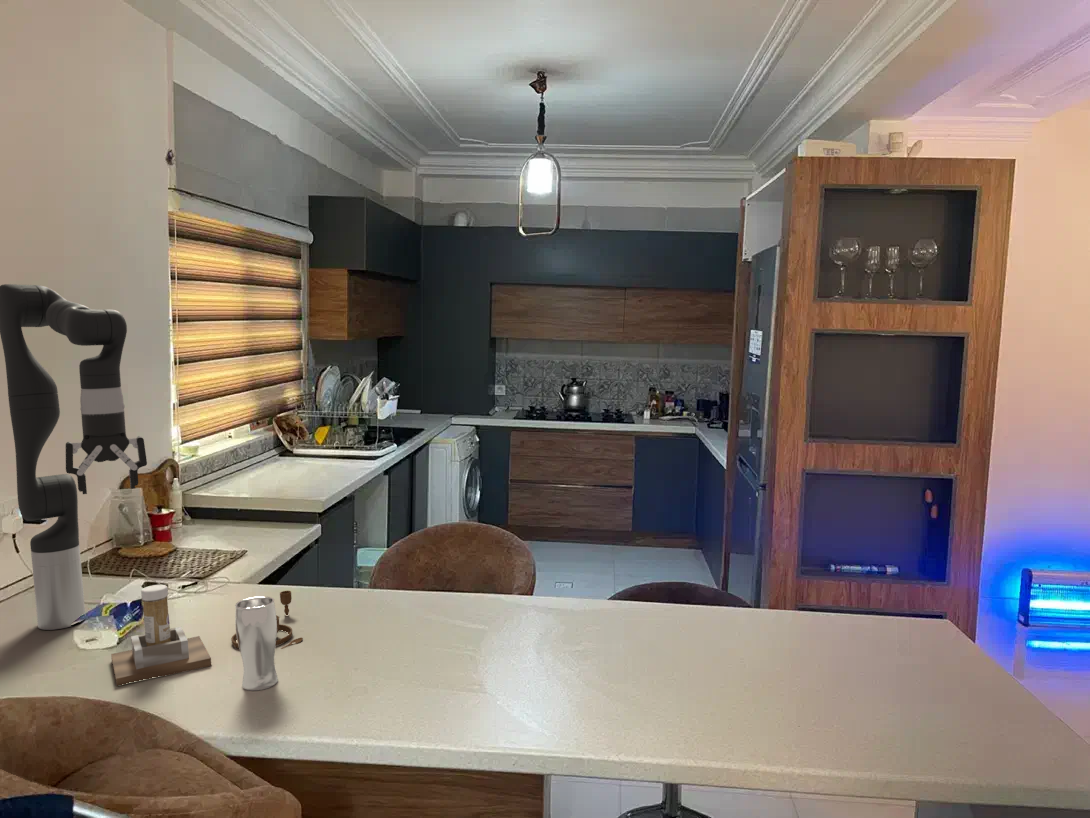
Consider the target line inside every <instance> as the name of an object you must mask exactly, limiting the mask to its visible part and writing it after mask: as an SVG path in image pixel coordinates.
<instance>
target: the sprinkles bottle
mask: <svg viewBox="0 0 1090 818" xmlns="http://www.w3.org/2000/svg"><path fill="white" fill-rule="evenodd" d="M168 590H169V589H168V586H167V585H166V584H153V585H149V586H145V587H144V588H142V589H141V591H140V592H141V594H140V595H141V600H142V606H143V622H144V623H143V624H144V634H145V638H146V644H147V646H152V645H157V644H162V643H167V642H171V640H170V629H171V626H170V624H171V623H170V613H169V606H168V605H169V603H168V595H169V592H168Z"/></svg>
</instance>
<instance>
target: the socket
mask: <svg viewBox="0 0 1090 818" xmlns="http://www.w3.org/2000/svg"><path fill="white" fill-rule="evenodd" d="M130 638H131V639H130V640H131V649H129V650H124V651H119V652H115V653H111V654H110V655H111V665H112V664H113V665H112V669H114V670H113V673H114V674H115V675H114V680H115V679H116V680H115V683H116V684H117V685H116V687H117V686H118V685H122V684H126V683H129V682H134V681H139V680H143V679H149V678H152V677H158V676H163V677H166V676H165V675H167V676H172V675H176V674H179V673H185V672H190V671H194V670H198V669H204V668H207V667H212V657H211V656H210V654H209V652H208V650H207V648H206V646H205V644H204V643H203V641H202V639H201V637H200V636H199V635H198V636H192V637H187V635H186V634H185V632H184V630H183V628H182V626H178V627H177V626H176V627H173V628H170V640H171V642H167V643H162V644H157V645H152V646H147V644H146V638H145V633H142V634H138V635H131V636H130ZM158 678H159V677H158ZM149 680H150V679H149ZM122 686H123V685H122ZM118 687H119V686H118Z"/></svg>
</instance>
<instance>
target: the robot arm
mask: <svg viewBox="0 0 1090 818" xmlns="http://www.w3.org/2000/svg"><path fill="white" fill-rule="evenodd" d="M42 327H50V329H52V330H53V331H54V332H56V333H59V334H61V335H63V336H66V338H67V339H68V341H69V342H70V343H71V344H73V345H76V346H82V347H83V346H84V347H85V346H87V347H88V346H90V347H92V346H102V349H101V351H100V352H99V354H98V355H96V356H92V357H88V358H85V359H82V360H81V361H80V363H79V365H78V366H79V380H80V381H79V384H80V402H79V403H80V412H81V413H80V415H81V426H82V427H81V428H82V440H81V442H71V441H67V442H66V443H65V472H66V473H64V474H63V473H62V474H53V475H46V476H38V477H37V475H36V474H37V464H38V460H39V457H40V456H41V455H40V454H41V452H42V450H43V447H44V446H45V444H46V442H47V441H48V440H49V438H50V435H51V434H52V433H53V431H54V429H55V428H56V426H57V424H58V421H59V419H60V414H61V411H60V410H61V409H60V401H59V391H58V386H57V384H56V382H55V380H54V379H53V378H52V376H51V374H50V373H49V371H47V370H46V369H45V368H44V366H42V364H41V363H40V362H39V361H38V359H36V357H35V356H34V355H33V354H32V351H31V350H30V349H29V347H28V345H27V343H26V339H25V337H24V333H23V328H42ZM127 332H128V326H127V321H126V319H125V317H124V315H123V314H122V313H121V312H120V311H118V310H115V309H91V308H90V307H88V306H86V305H84V304H81V303H78V302H74V301H70V300H67V299H66V298H64V297H63V296H62V295H61V294H59V293H58V292H57V291H55V290H54V289H52V288H49V287H47V286H44V285H41V284H40V285H39V284H38V285H37V284H16V283H13V284H11V283H8V284H7V283H5V284H0V339H1V344H2V349H3V355H4V363H5V370H6V371H5V372H6V382H7V383H6V384H7V397H8V406H9V415H10V420H11V428H12V434H13V435H12V436H13V441H14V442H13V443H14V448H15V449H14V450H15V452H14V453H15V468H16V469H15V470H16V471H15V472H16V490H17V492H16V493H17V503H18V504H17V505H18V509H19V511H20V512H19V513H20V515H21V517H22V519H23V520H25V521H27V522H32V521H39V520H46V519H53V518H57V520H56V521H55V523H53V524H52V525H51V526H50V527H48V528H47V529H45V530H43V531H41V532H39V533H37V534H35V535H34V536H32V537H31V539H30V555H31V564H32V566H31V567H32V575H33V576H32V577H33V585H34V586H33V588H34V599H35V600H34V601H35V608H36V609H35V610H36V621H37V622H36V623H37V628H38V629H40V630H43V631H44V630H46V631H49V630H50V631H51V630H61V629H66V628H70V627H72V626H71V624H72V622H73V621H74V620H76V619H77V618H78V617H79V616H81V615H82V614H84V613H85V614H86V607H85V595H84V594H85V593H84V584H83V583H84V582H83V572H82V571H83V570H82V560H81V550H80V549H81V548H80V539H79V537H80V533H79V531H80V529H79V513H78V505H79V503H78V502H79V501H78V499H79V498H78V491H79V492H80V493H81V492H82V495H87V494H88V493H87V492H88V491H87V482H86V481H87V479H86V478H87V477H86V474H85V473H86V471H87V470H88V469H89V467H90V466H92V464H93V462H97V463H103V462H106V461H108V462H115V461H117V460H119V459H120V460H121V461H122V462H124V464H125V465H126V466H128V468H129V469H128V472H129V473H128V474H129V485H130V486H129V487H130V489H131V490H133V489H134V490H135V489H136V486H138V485H139V469H141V468H143V467H146V466H147V464H148V461H147V454H146V446H145V439H144V437H142V436H140V435H138V436H136V437H131V438H128V436H127V430H126V420H125V404H124V396H123V392H122V382H121V370H120V368H121V361H122V356H123V350H124V346H125V342H126V337H127ZM129 445H132V447H133V448H134V449H137V455H138V456H137V457H138V461H133V459H131V458H130V457H129V456H128V454H126V453H125V452H126V449H127V448H128V447H129ZM79 449H82V451H84V452H85V453H86V454H87V455H86V456H85V458H83V460H82V462H81V463H80V465H79V466H78V467H77V466H74V455H75V454H77V453H78V452H79V451H78V450H79ZM72 475H75V476H76V479H77V480H76V481H77V483H76V481H75V479H74V477H73V476H72ZM77 488H78V489H77Z"/></svg>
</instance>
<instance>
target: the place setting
mask: <svg viewBox="0 0 1090 818" xmlns="http://www.w3.org/2000/svg"><path fill="white" fill-rule="evenodd" d="M279 600H280V604H281V605H283V606H284V610H283V611H284V613H285V614H286V615H288V614H289V613H290V609H289V605H290V604H291V603H292V591H291V590H283V591H280V592H279ZM285 614H284V615H285ZM276 618H277V634H278V633H279V632H280V631H279V630H283V631H286V632H288V634H289V635H286V636H284V637H282V638H280V639H276V647H277V646H280V645H283V644H285V643H286V642H288V641H289V640H291V638H292V637H293V628H292V627H291V626H289V625H286V624H281V623H280V617H279V616H278V615H277V614H276ZM283 631H282V632H283ZM286 632H285V633H286ZM303 639H304V638H303V637H298V638H295V639H293V640H291V641H290V642H289V643H288V644H286V645H283V646H282V647H281V648H280V649H281V650H282V649H285V648H288V647H290V646H293V645H298V644H300V643H301V642H302V641H303ZM230 640H231V644H232V646H233V647H235V648H236V649H238V648H239V645H238V642H236V640H237V636H236V633H234V634H233V635H232V636H231V639H230Z"/></svg>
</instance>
